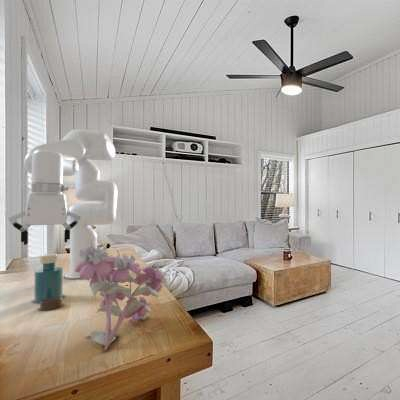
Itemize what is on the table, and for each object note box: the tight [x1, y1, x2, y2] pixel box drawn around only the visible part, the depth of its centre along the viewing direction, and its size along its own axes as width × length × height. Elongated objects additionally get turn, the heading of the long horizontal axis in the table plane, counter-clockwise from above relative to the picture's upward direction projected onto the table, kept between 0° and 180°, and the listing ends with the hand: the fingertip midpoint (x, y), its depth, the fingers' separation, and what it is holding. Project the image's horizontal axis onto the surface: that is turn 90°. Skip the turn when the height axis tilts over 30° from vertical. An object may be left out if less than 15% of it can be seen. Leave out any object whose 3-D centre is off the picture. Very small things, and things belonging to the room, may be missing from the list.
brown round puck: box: [39, 297, 63, 311], centre depth 91 cm, size 5×5×2 cm
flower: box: [75, 243, 168, 351], centre depth 76 cm, size 20×22×25 cm
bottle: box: [33, 252, 64, 304], centre depth 99 cm, size 7×7×15 cm
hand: (46, 243), depth 93 cm, fingers open, 9 cm apart
